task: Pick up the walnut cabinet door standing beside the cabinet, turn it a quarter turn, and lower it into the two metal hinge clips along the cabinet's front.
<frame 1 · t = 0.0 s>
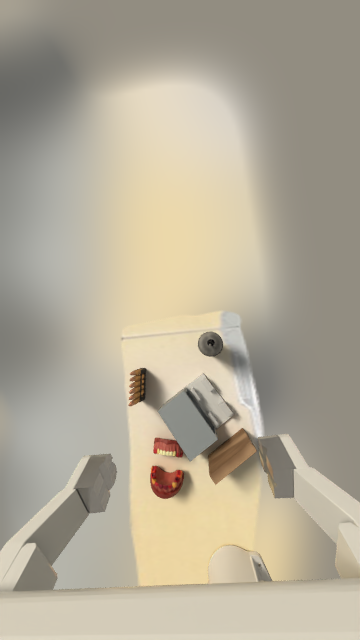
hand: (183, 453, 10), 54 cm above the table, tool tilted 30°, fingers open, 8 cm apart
door: (228, 445, 57), on the table
teeth: (169, 456, 59), on the table
ammunition clip: (143, 383, 64), on the table
beverage cup: (209, 346, 64), on the table
cabinet: (188, 416, 60), on the table
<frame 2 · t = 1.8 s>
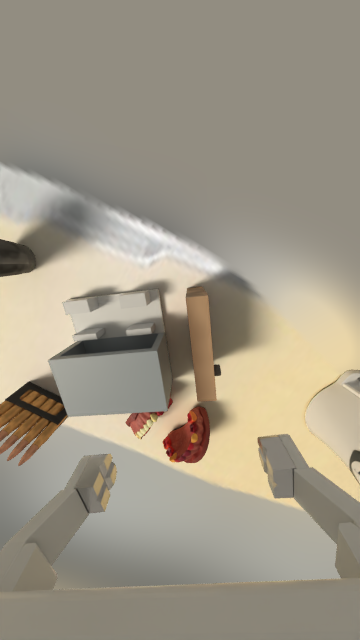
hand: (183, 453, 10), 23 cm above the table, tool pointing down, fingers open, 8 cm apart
door: (198, 327, 31), on the table
teeth: (170, 410, 37), on the table
ammunition clip: (52, 395, 38), on the table
beverage cup: (23, 259, 30), on the table
cabinet: (127, 359, 34), on the table
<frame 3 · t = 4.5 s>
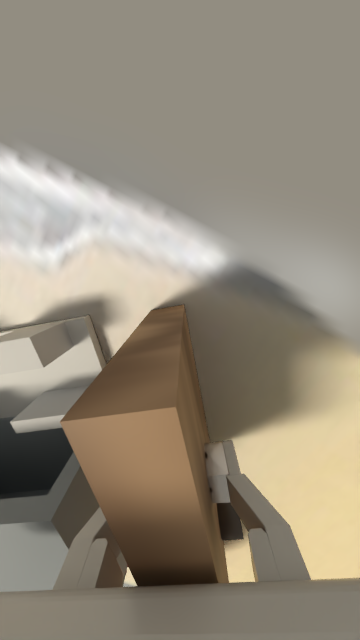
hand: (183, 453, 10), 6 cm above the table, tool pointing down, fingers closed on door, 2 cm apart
door: (184, 386, 15), on the table, touching gripper
cabinet: (55, 448, 18), on the table
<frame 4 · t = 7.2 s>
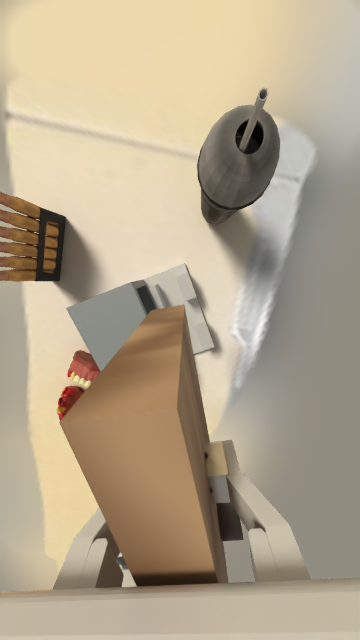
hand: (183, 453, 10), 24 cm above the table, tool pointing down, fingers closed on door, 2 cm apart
door: (184, 386, 15), point 19 cm above the table, touching gripper
teeth: (98, 379, 37), on the table
ammunition clip: (57, 249, 31), on the table
beverage cup: (215, 208, 28), on the table
cabinet: (137, 329, 34), on the table
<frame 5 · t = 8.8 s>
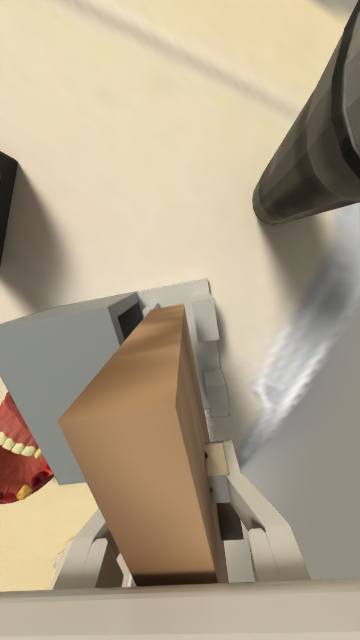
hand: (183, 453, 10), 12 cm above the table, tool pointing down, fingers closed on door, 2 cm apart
door: (184, 386, 15), point 7 cm above the table, touching gripper
teeth: (50, 417, 26), on the table
ammunition clip: (1, 215, 18), on the table
beverage cup: (276, 198, 17), on the table
cabinet: (116, 361, 22), on the table
when the fingers open (7 cm above the table, at t = 10.1 s): door stays where it is, resting on cabinet.
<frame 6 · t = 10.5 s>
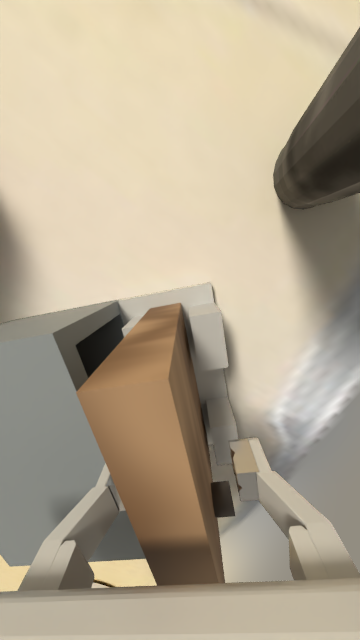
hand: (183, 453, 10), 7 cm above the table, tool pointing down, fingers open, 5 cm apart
door: (181, 380, 16), point 1 cm above the table, touching cabinet
beverage cup: (305, 172, 12), on the table
cabinet: (95, 387, 18), on the table
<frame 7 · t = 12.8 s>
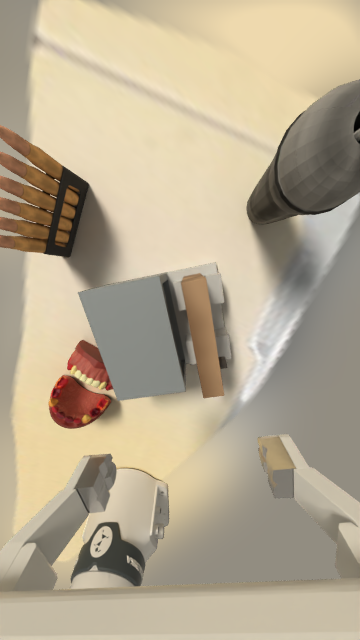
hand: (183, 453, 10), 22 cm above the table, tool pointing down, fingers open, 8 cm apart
door: (199, 318, 29), point 1 cm above the table, touching cabinet
teeth: (97, 372, 35), on the table
ammunition clip: (73, 220, 26), on the table
beverage cup: (262, 206, 25), on the table
cabinet: (148, 325, 31), on the table
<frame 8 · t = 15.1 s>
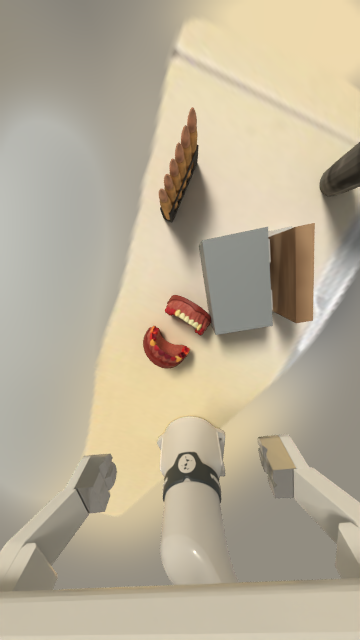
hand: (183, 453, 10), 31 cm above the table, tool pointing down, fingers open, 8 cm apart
door: (273, 274, 36), point 1 cm above the table, touching cabinet
teeth: (177, 326, 41), on the table
ammunition clip: (179, 191, 33), on the table
beverage cup: (332, 182, 32), on the table
cabinet: (228, 281, 37), on the table
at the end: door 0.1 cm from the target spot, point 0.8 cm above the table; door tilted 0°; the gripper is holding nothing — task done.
